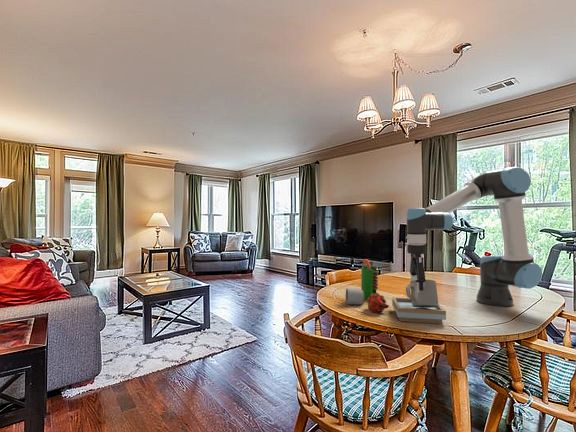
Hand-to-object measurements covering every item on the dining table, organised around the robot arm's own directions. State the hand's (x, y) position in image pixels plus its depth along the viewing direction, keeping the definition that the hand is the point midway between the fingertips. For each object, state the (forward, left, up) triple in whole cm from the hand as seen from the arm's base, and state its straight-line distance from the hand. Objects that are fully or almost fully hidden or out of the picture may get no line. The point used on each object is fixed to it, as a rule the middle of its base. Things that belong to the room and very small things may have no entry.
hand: (417, 294), depth 133 cm
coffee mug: (0, +6, -4) cm, 7 cm away
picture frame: (0, 0, -9) cm, 9 cm away
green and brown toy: (+18, -29, -10) cm, 35 cm away
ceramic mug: (+27, -16, -10) cm, 33 cm away
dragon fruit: (+16, -5, -10) cm, 20 cm away
